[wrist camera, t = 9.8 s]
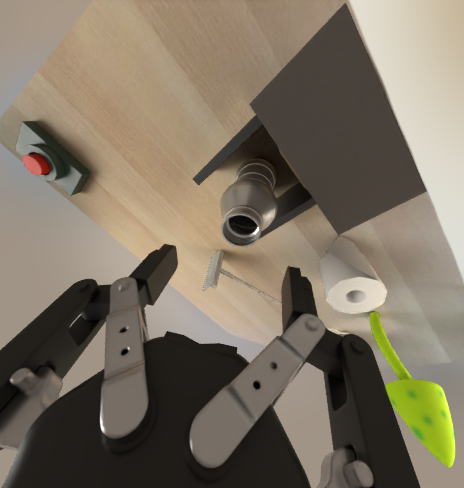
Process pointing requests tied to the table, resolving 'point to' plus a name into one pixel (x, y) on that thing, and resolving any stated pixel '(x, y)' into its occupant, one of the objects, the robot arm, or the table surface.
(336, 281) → the toilet tissue
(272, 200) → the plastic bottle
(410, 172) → the dark box with flaps
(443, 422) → the mushroom
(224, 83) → the table surface
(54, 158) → the control pad
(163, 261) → the robot arm
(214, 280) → the brush
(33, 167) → the stop button
